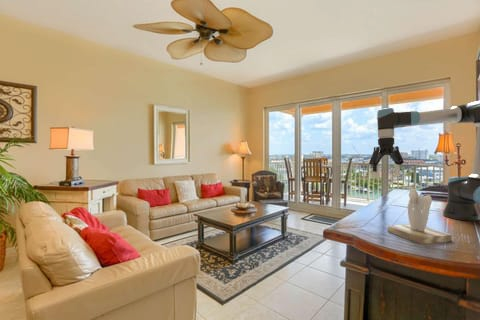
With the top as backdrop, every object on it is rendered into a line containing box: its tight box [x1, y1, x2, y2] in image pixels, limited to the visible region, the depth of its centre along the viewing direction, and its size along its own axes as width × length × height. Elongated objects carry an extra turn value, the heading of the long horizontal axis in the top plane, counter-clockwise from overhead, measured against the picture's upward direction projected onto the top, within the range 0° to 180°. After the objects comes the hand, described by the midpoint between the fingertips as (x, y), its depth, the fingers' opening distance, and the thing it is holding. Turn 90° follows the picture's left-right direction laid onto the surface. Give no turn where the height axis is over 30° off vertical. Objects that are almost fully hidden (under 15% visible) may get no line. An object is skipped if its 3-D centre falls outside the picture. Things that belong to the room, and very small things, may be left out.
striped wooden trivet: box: [387, 224, 453, 245], centre depth 106 cm, size 16×16×2 cm
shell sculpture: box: [407, 188, 432, 231], centre depth 106 cm, size 8×8×18 cm
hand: (387, 177), depth 129 cm, fingers open, 13 cm apart
